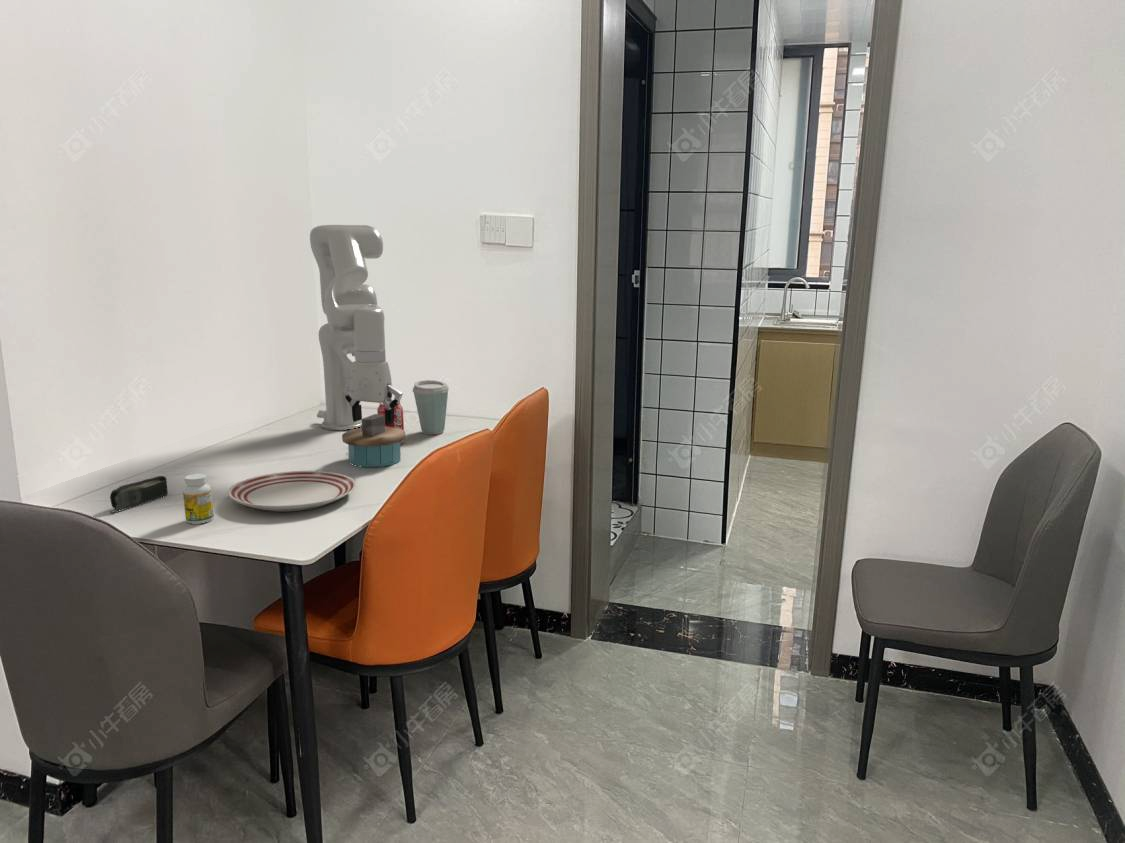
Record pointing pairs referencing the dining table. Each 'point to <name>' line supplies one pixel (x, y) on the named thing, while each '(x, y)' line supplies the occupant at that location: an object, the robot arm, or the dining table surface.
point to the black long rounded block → (138, 493)
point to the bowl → (374, 455)
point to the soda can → (397, 413)
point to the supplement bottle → (197, 499)
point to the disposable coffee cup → (431, 405)
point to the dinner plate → (291, 490)
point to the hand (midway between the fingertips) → (373, 422)
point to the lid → (373, 433)
